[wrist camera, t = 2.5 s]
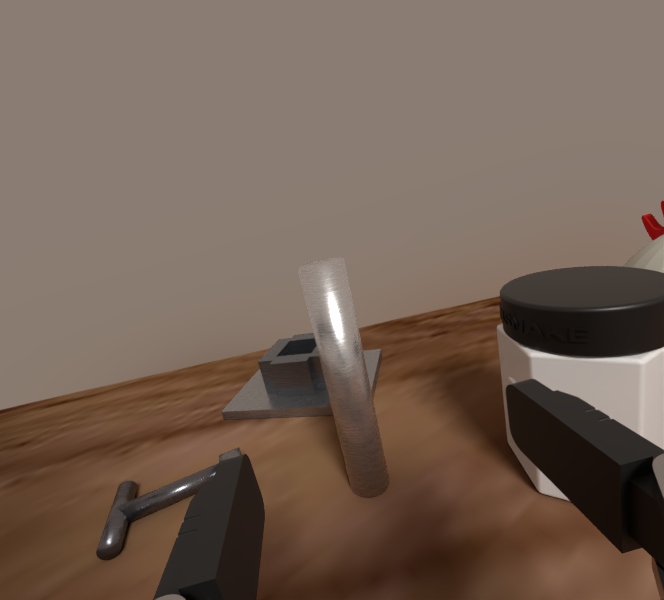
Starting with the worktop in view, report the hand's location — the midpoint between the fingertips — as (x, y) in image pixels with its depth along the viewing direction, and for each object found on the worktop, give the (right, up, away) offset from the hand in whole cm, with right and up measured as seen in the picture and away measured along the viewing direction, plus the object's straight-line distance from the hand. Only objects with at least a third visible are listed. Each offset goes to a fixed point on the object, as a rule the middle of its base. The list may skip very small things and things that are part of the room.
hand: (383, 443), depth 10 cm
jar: (+15, -6, +12) cm, 20 cm away
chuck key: (-14, -11, +16) cm, 24 cm away
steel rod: (+1, -9, +14) cm, 16 cm away
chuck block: (-4, -6, +29) cm, 30 cm away
